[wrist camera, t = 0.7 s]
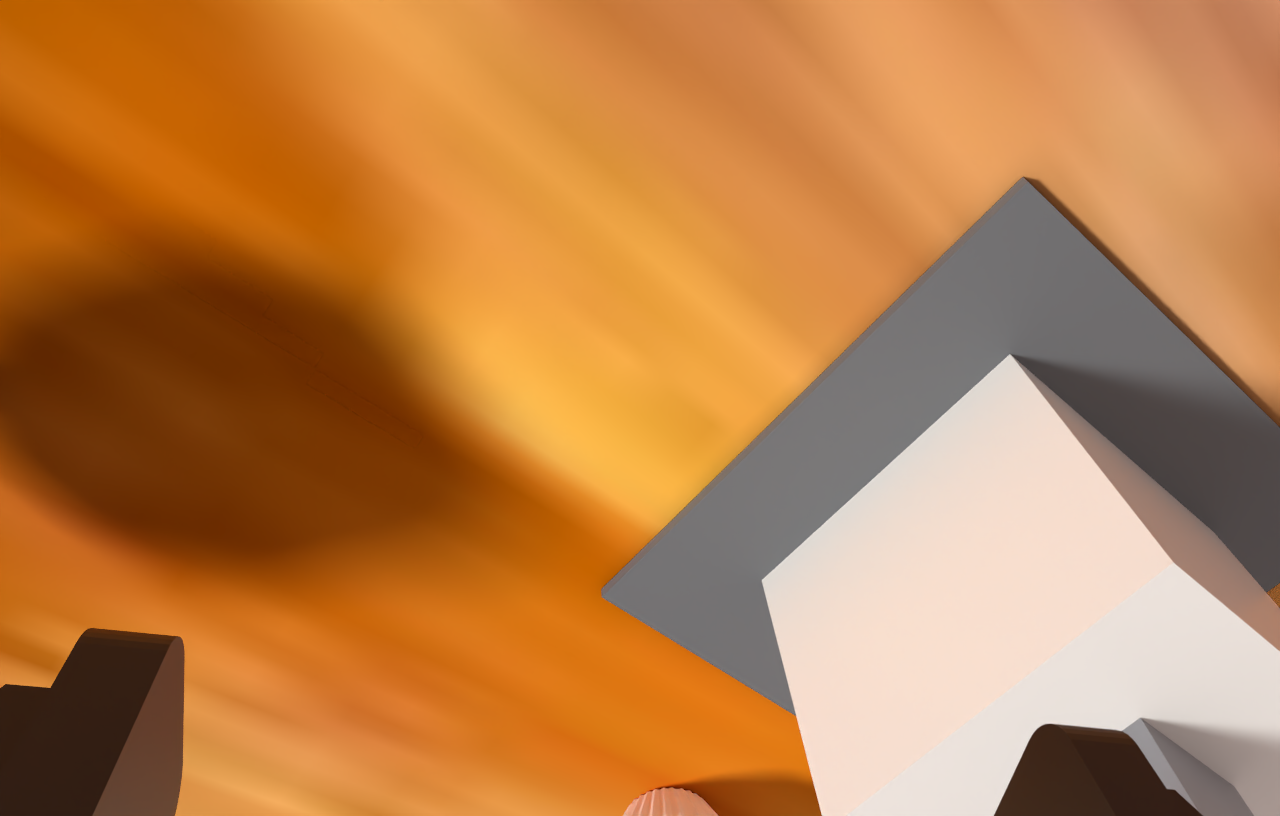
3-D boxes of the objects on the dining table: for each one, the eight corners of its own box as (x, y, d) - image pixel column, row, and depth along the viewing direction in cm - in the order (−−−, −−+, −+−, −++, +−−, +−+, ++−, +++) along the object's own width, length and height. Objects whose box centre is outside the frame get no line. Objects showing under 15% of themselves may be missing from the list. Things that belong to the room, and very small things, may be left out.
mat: (1022, 176, 30) (1027, 181, 29) (1362, 509, 36) (1370, 516, 36) (601, 589, 36) (601, 597, 36) (958, 808, 43) (961, 817, 42)
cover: (1010, 354, 32) (1347, 784, 18) (1214, 532, 36) (1617, 996, 22) (761, 580, 36) (890, 1079, 22) (971, 720, 40) (1190, 1217, 26)
